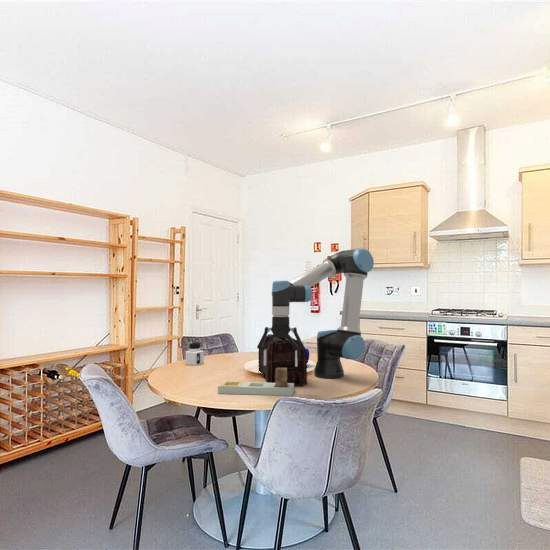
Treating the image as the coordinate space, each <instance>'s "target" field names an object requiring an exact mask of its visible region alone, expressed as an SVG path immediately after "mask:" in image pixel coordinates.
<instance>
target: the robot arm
mask: <svg viewBox="0 0 550 550" xmlns="http://www.w3.org/2000/svg"><path fill="white" fill-rule="evenodd" d="M374 264H375V263H374V257H373V255H372V254H371V251H369V250H368V249H366V248H355V249H345V250H341V251H338V252H336V253H335V254H333V255H331V256H329V257H327V258H324V260H322V262H321V263H320V264H318V265H317V266H315V267H313V268H311V269H309V270H307V271H306V272H304V273H302V274H301V275H298V276H297V277H294V278H293V279H291V280H290V281H289V280H274V281H272V284H271V285H272V286H271V287H272V288H271V297H272V298H271V301H272V303H271V305H272V306H271V315H272V317H271V327H268V326H266V327H265V328H264V332H263V334H262V336H261V338H260V340H259V342H258V344H257V347H256V348H257V349H258V350H259V349H261V357H264V366H266V356H267V349H265V348H266V347H267V345H268V344H269V343H270V342H271V341H272V340H273V338H274V337H277V338H280V337H281V338H285V337H286V338H287V339H288V340H289V341H290V342H291V343H292V345H293V346H294V347H295V348H296V351H295V367H297V361H298V358H300V350H303V349H304V347H305V345H304V343H302V342H303V341H302V339H301V338H300V335H299V334H298V331H297V330H298V329H297V327H291V326H290V304H291V303H308V302H310V301H312V298H313V296H314V295H313V294H314V293H313V289H312V288H311V287H313V286H315V285H316V284H319V283H320V282H322V281H323V280H325V279H327V278H329V277H334V276H336V275H339V274H343V276H344V277H345V278H346V279H345V285H344V294H343V304H342V309H341V310H342V311H341V319H340V326H339V327H338V328H337V329H331V330H320V331H318V332H317V335H316V352H317V355H316V359H317V360H316V364H315V367H314V371H313V375H314V376H315V377H316V378H322V379H339V378H340V379H341V378H343V377H344V376H345V370H344V368H343V364H342V362H341V358H342V359H345V360H357V359H359V358H360V357H361V356H362V355H363V353H364V351H365V348H366V343H365V340H364V338H363V337H362V331H361V330H360V329H359V325H360V319H361V318H360V317H361V310H362V309H361V306H362V299H363V291H364V290H363V288H364V280H365V279H367V278H368V273H369V272H371V271H372V270H373V268H374ZM269 332H272V333H271V334H272V336H271V337H270V338H269V340H268V341H267V342H266V343H265V344H264V345H263V346H261V345H262V343H263V341H264V339H265V337H266V335H268V333H269ZM290 332H291V333H292V334H294V337H295V340H297V341H298V343H299V345H300V347H299V346H298V345H297V344H296V343H295V341H294V340H293V339H294V338H293V337H292V336H291V335H290ZM291 337H292V338H293V339H292V338H291Z"/></svg>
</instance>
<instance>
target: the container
mask: <svg viewBox="0 0 550 550" xmlns="http://www.w3.org/2000/svg"><path fill="white" fill-rule="evenodd" d="M204 357H205V356H204V350H201V343H200V342H198V341H191V342H189V344H188V350H186V351H185V365H188V366H194V365H195V366H199V365H203V364H204V362H205V360H204Z"/></svg>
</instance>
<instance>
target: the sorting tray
mask: <svg viewBox="0 0 550 550" xmlns="http://www.w3.org/2000/svg"><path fill="white" fill-rule="evenodd" d="M294 391H295V387H294V383H287V387H276V383H267V382H262V381H261V382H255V381H254V382H253V381H238V380H237V381H236V380H235V381H234V380H225V381H222V382H221V383H220V384H219V385H218V386H217V394H219V395H220V394H227V395H261V396H262V395H263V396H290V397H291V396H293V394H294V393H295V392H294Z"/></svg>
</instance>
